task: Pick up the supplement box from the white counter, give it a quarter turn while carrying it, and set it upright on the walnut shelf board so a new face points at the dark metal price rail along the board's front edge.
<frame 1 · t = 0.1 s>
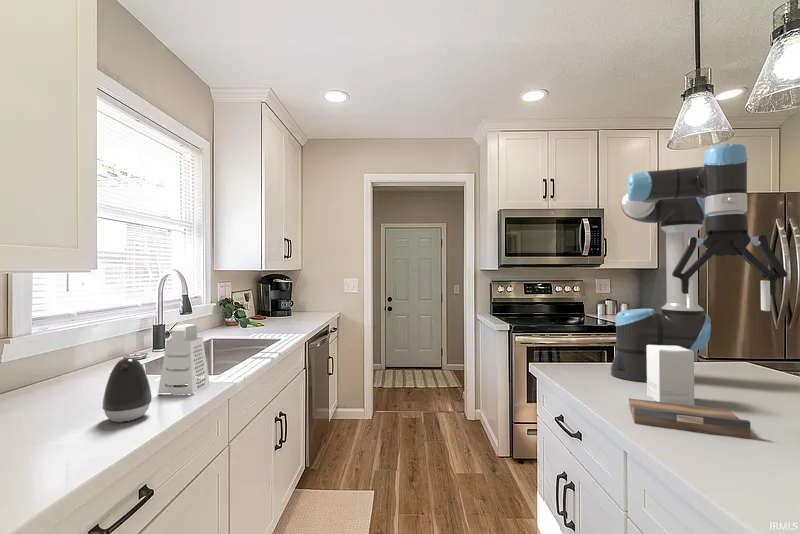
hand: (726, 309, 91), 28 cm above the worktop, tool pointing down, fingers open, 13 cm apart
black egg-shaped figure: (127, 419, 102), on the worktop
shelf board: (683, 420, 100), on the worktop
supplement box: (669, 401, 115), on the worktop
grater: (184, 390, 126), on the worktop
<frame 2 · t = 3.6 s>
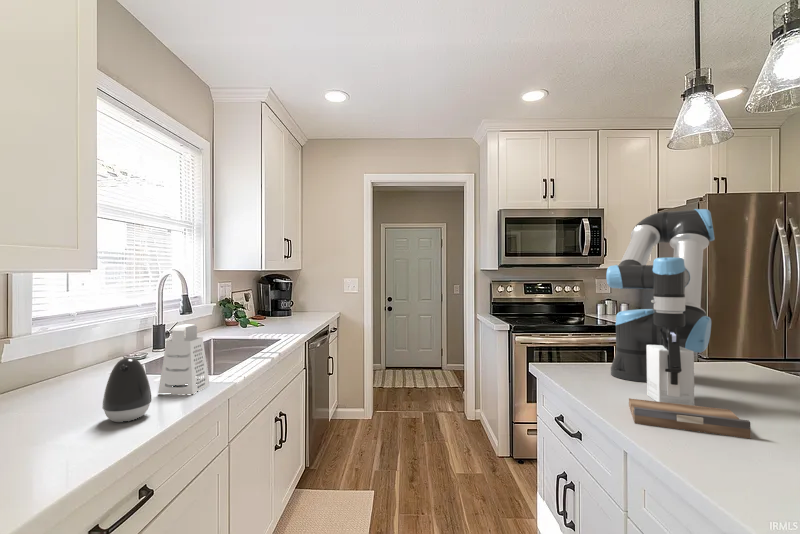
hand: (669, 390, 115), 3 cm above the worktop, tool pointing down, fingers closed on supplement box, 10 cm apart
supplement box: (669, 401, 115), on the worktop, touching gripper
everything else where it was.
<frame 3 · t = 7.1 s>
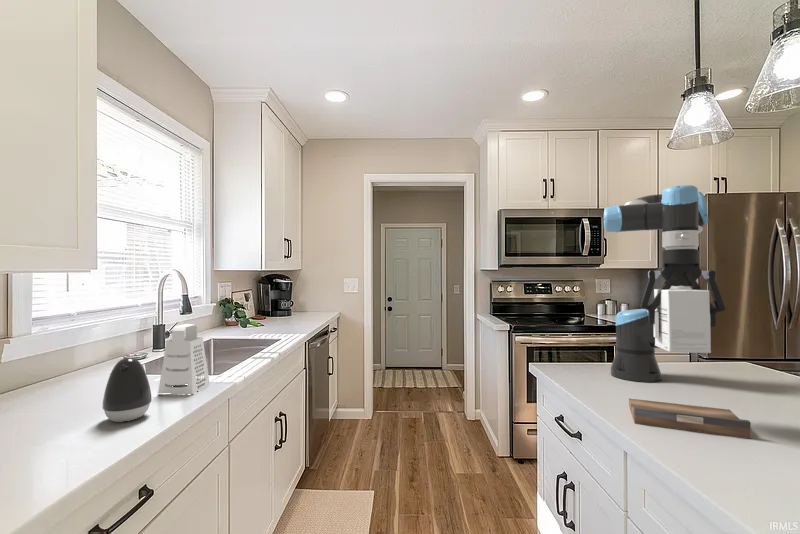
hand: (681, 338, 101), 20 cm above the worktop, tool pointing down, fingers closed on supplement box, 10 cm apart
supplement box: (681, 350, 101), point 17 cm above the worktop, touching gripper
everything else where it was.
when the fingers open (6 cm above the worktop, at t = 10.6 s): supplement box drops 1 cm, resting on shelf board.
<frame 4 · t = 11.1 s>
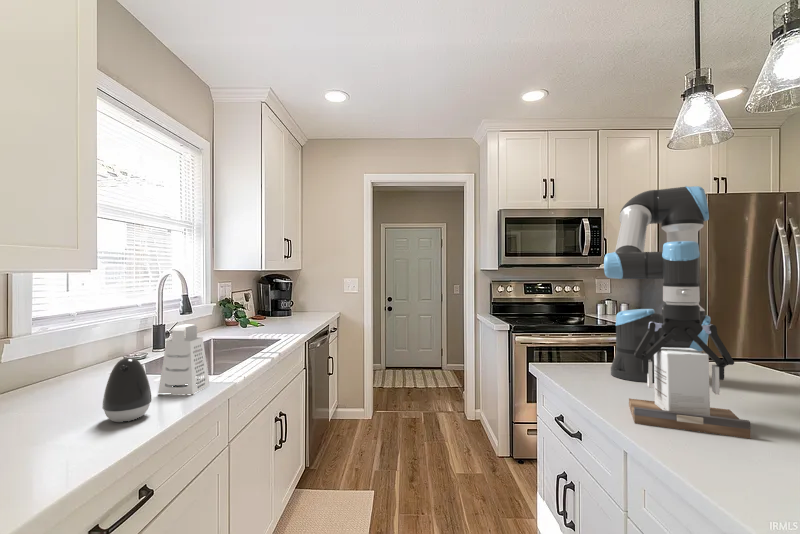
hand: (681, 389, 101), 7 cm above the worktop, tool pointing down, fingers open, 13 cm apart
supplement box: (680, 411, 101), point 2 cm above the worktop, touching shelf board
everything else where it was.
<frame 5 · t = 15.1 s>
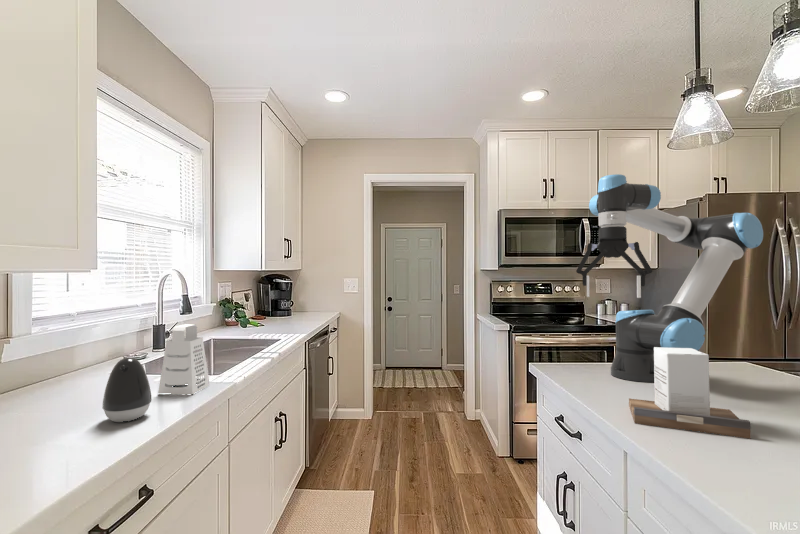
hand: (612, 297, 123), 29 cm above the worktop, tool pointing down, fingers open, 13 cm apart
nothing on the worktop moved.
at the end: supplement box inside the target area on the shelf board (0.3 cm from its centre), point 1.8 cm above the shelf board's base; supplement box tilted 0°; the gripper is holding nothing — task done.
